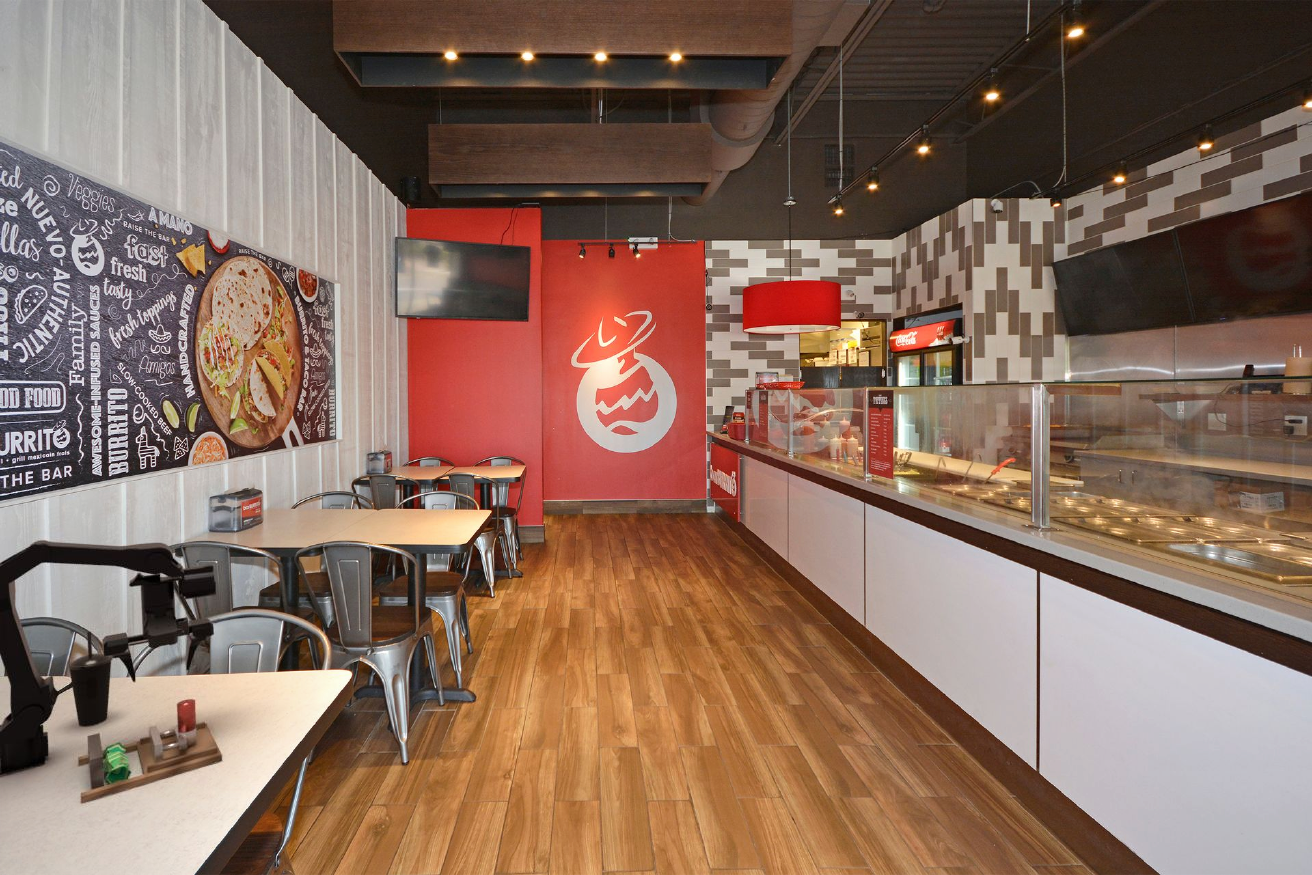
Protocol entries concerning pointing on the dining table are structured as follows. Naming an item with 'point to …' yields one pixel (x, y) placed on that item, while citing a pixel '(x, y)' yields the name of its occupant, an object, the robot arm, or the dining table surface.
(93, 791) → the wooden vise
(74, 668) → the drinking cup
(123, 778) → the candy
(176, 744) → the lever
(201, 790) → the dining table surface
